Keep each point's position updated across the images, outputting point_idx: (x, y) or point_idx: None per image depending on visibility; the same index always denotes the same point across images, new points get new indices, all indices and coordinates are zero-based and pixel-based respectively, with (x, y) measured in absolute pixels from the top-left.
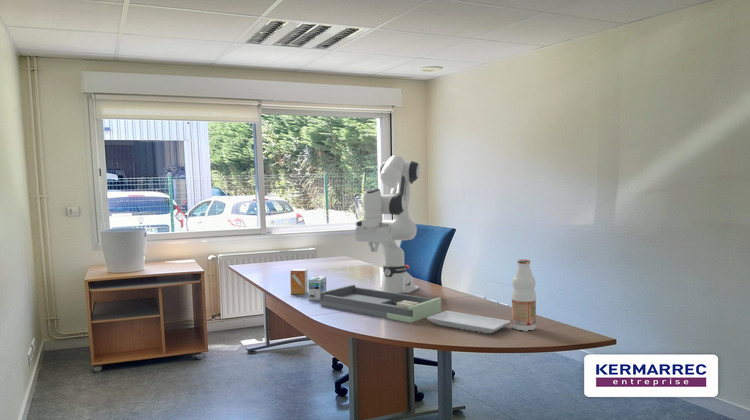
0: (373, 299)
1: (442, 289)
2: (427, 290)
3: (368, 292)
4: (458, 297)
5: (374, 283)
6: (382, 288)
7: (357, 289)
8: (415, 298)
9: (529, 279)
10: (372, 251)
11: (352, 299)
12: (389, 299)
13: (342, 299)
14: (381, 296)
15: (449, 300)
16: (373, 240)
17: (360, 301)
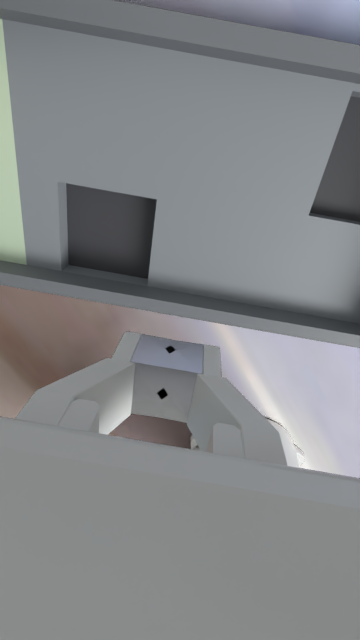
0: (223, 252)
1: None
2: None
3: (280, 315)
4: None
5: None
6: (284, 438)
7: (348, 330)
8: (19, 272)
9: None
10: (188, 345)
11: (264, 43)
12: (158, 281)
13: (343, 45)
14: (206, 299)
15: (28, 398)
16: (43, 470)
17: (190, 15)
